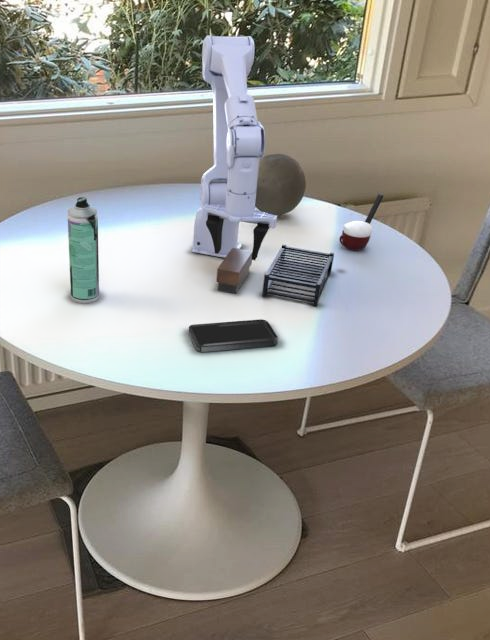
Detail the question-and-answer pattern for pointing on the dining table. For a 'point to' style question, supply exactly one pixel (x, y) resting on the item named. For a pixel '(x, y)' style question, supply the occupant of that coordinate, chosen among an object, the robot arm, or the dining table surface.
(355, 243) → the cocoa
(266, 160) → the cantaloupe
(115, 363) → the dining table surface
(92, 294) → the spray can
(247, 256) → the shoe brush
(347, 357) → the dining table surface
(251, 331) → the phone
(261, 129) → the robot arm
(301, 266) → the shoe rack
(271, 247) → the dining table surface
